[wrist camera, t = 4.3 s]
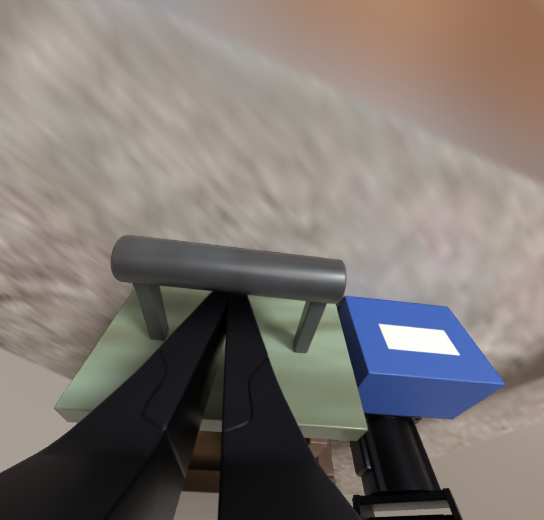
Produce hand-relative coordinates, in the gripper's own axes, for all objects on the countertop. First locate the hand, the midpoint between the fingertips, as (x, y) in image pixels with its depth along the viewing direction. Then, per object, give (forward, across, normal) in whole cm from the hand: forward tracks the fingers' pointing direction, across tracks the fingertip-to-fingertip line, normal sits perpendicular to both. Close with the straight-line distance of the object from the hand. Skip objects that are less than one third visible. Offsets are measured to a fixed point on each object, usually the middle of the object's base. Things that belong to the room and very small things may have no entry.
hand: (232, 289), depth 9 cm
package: (+4, -10, +6) cm, 12 cm away
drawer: (+3, 0, +7) cm, 8 cm away
